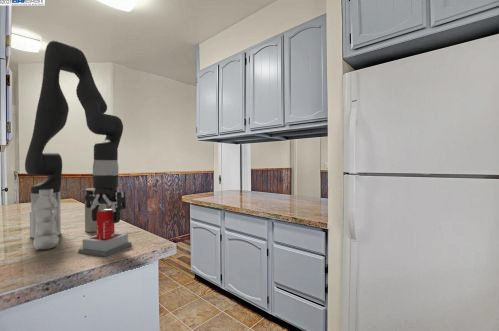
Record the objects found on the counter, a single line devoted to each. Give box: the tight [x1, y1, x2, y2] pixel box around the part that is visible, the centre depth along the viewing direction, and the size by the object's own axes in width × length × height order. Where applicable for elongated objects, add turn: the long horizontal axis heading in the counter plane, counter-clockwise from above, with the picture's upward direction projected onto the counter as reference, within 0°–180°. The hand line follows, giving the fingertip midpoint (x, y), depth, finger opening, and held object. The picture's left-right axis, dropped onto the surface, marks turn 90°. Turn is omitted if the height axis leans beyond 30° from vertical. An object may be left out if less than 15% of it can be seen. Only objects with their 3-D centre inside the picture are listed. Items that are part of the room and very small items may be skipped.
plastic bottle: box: [33, 189, 60, 250], centre depth 86 cm, size 6×7×20 cm
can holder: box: [78, 232, 132, 257], centre depth 86 cm, size 11×11×4 cm
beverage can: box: [96, 208, 115, 240], centre depth 86 cm, size 5×5×12 cm
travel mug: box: [84, 187, 107, 233], centre depth 110 cm, size 8×8×18 cm
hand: (105, 221), depth 86 cm, fingers open, 8 cm apart
